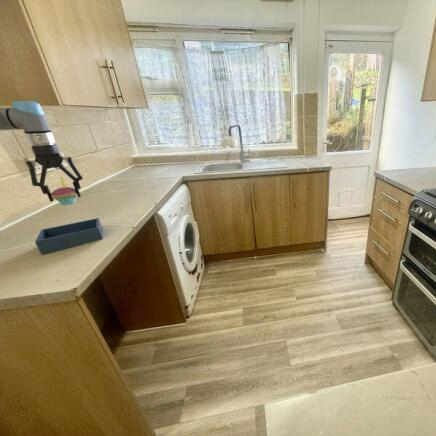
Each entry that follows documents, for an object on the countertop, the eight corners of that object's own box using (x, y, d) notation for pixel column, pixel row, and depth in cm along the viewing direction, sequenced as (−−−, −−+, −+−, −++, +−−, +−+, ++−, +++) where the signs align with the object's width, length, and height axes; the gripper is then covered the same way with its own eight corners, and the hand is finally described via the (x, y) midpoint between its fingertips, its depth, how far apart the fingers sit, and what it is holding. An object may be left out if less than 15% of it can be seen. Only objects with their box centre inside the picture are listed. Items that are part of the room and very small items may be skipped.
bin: (41, 254, 90) (34, 241, 88) (47, 241, 99) (41, 229, 97) (102, 239, 100) (98, 227, 97) (102, 229, 109) (98, 217, 107)
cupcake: (71, 199, 111) (59, 173, 106) (85, 200, 110) (74, 174, 105) (50, 206, 104) (37, 179, 99) (66, 207, 102) (53, 179, 97)
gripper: (2, 148, 88) (30, 206, 97) (76, 142, 99) (96, 195, 109) (8, 146, 94) (34, 201, 103) (78, 141, 105) (96, 191, 114)
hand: (66, 198), depth 106 cm, fingers closed on cupcake, 8 cm apart
